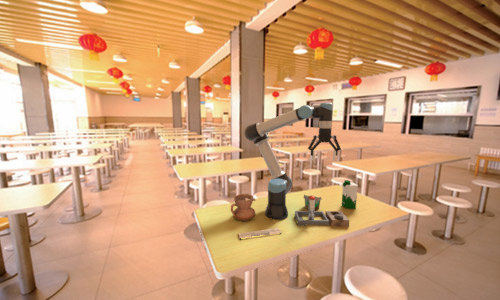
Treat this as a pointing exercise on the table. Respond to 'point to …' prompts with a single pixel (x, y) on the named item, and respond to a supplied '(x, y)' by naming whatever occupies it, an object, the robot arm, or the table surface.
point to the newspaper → (259, 233)
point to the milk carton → (349, 195)
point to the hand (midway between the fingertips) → (323, 160)
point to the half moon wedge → (317, 202)
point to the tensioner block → (337, 218)
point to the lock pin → (311, 208)
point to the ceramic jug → (243, 207)
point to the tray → (310, 222)
